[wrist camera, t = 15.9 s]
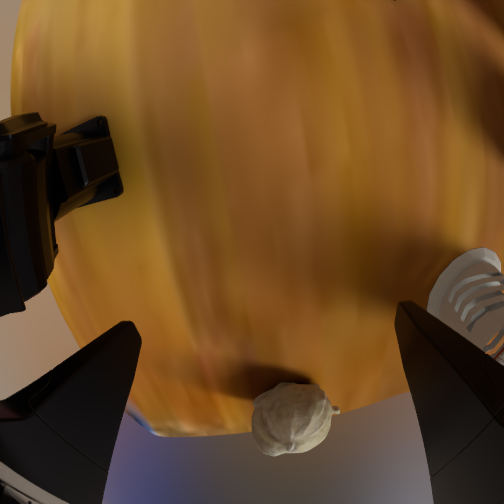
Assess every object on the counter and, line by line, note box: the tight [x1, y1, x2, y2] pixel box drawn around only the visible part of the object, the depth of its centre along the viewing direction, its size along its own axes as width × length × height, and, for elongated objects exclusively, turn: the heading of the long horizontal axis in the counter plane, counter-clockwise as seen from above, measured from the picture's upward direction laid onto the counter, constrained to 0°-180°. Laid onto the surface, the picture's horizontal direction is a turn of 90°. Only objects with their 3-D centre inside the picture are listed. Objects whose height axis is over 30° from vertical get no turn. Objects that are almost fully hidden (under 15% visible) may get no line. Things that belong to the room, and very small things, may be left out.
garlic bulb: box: [252, 382, 340, 456], centre depth 25 cm, size 9×8×10 cm
